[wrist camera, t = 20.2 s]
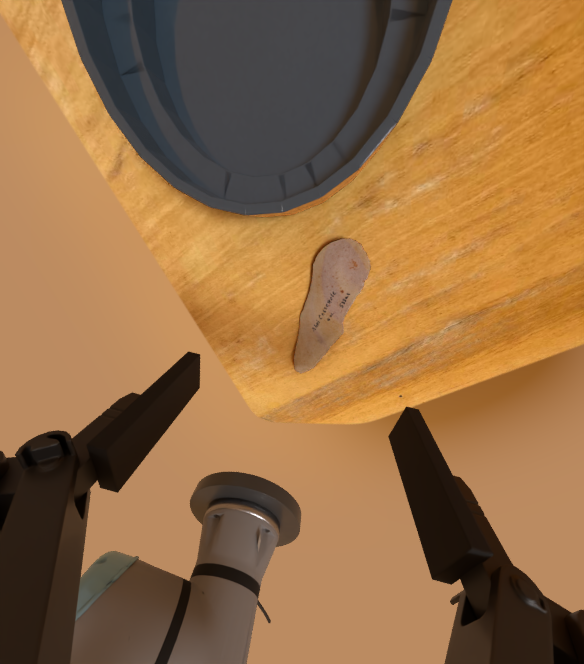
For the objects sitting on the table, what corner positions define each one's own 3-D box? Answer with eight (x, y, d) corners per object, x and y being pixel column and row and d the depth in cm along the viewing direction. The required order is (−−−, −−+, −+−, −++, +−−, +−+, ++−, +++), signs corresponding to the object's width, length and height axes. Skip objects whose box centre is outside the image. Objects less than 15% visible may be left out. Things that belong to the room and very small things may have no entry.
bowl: (359, 239, 20) (369, 243, 15) (143, 189, 20) (91, 180, 16) (508, -227, 10) (649, -574, 6) (97, -286, 11) (-61, -635, 7)
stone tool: (323, 377, 26) (382, 248, 19) (319, 384, 25) (381, 249, 18) (285, 357, 27) (328, 230, 20) (279, 363, 26) (323, 229, 19)
